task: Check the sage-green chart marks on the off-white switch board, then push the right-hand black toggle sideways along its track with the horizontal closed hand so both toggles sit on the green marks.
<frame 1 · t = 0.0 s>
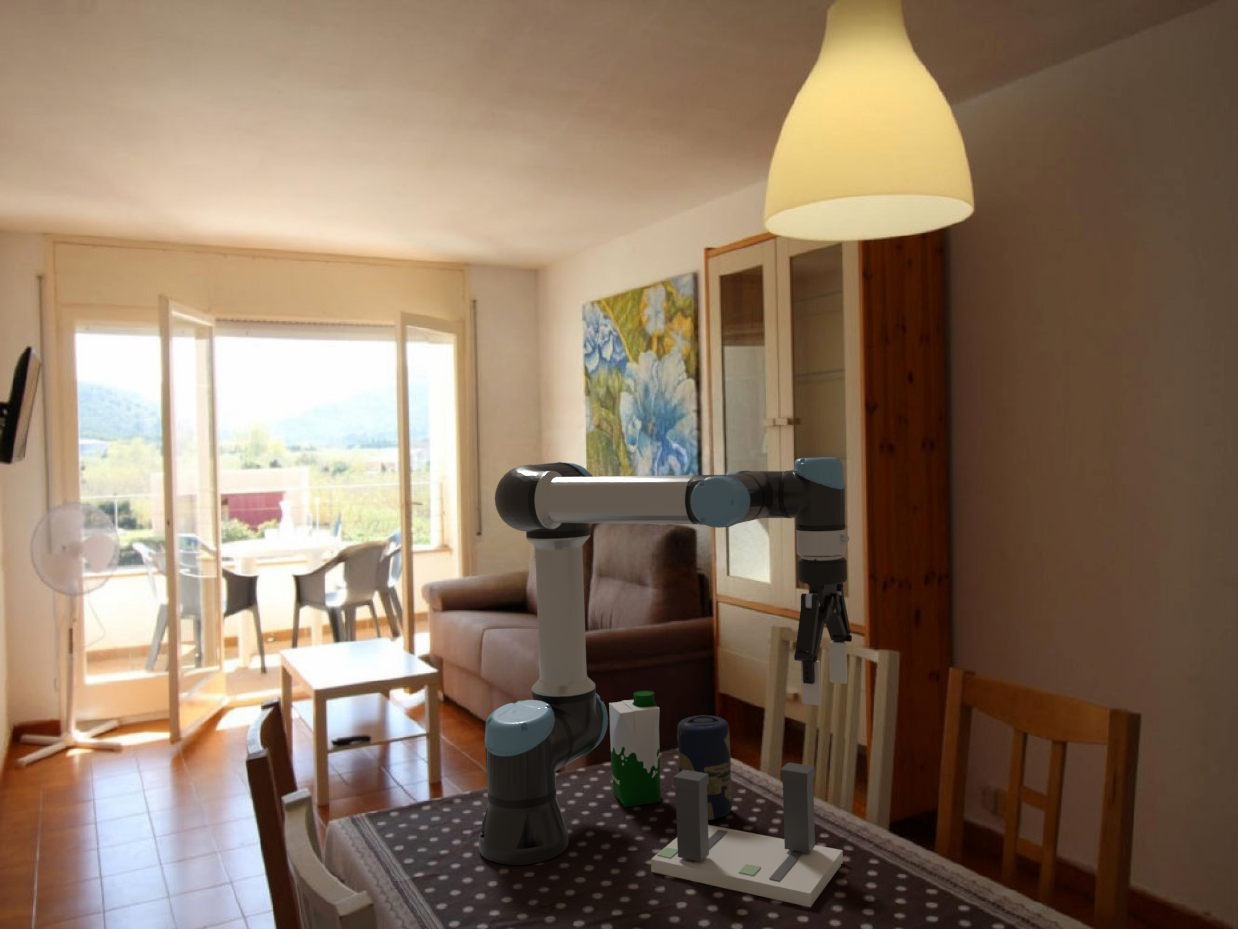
hand: (825, 693, 147), 28 cm above the table, tool pointing down, fingers open, 13 cm apart
switch board: (747, 867, 150), on the table
switch a: (692, 815, 149), point 9 cm above the table, slide at 10.0 cm
milk carton: (636, 799, 180), on the table
switch b: (798, 807, 151), point 9 cm above the table, slide at 0.0 cm
canister: (706, 814, 172), on the table
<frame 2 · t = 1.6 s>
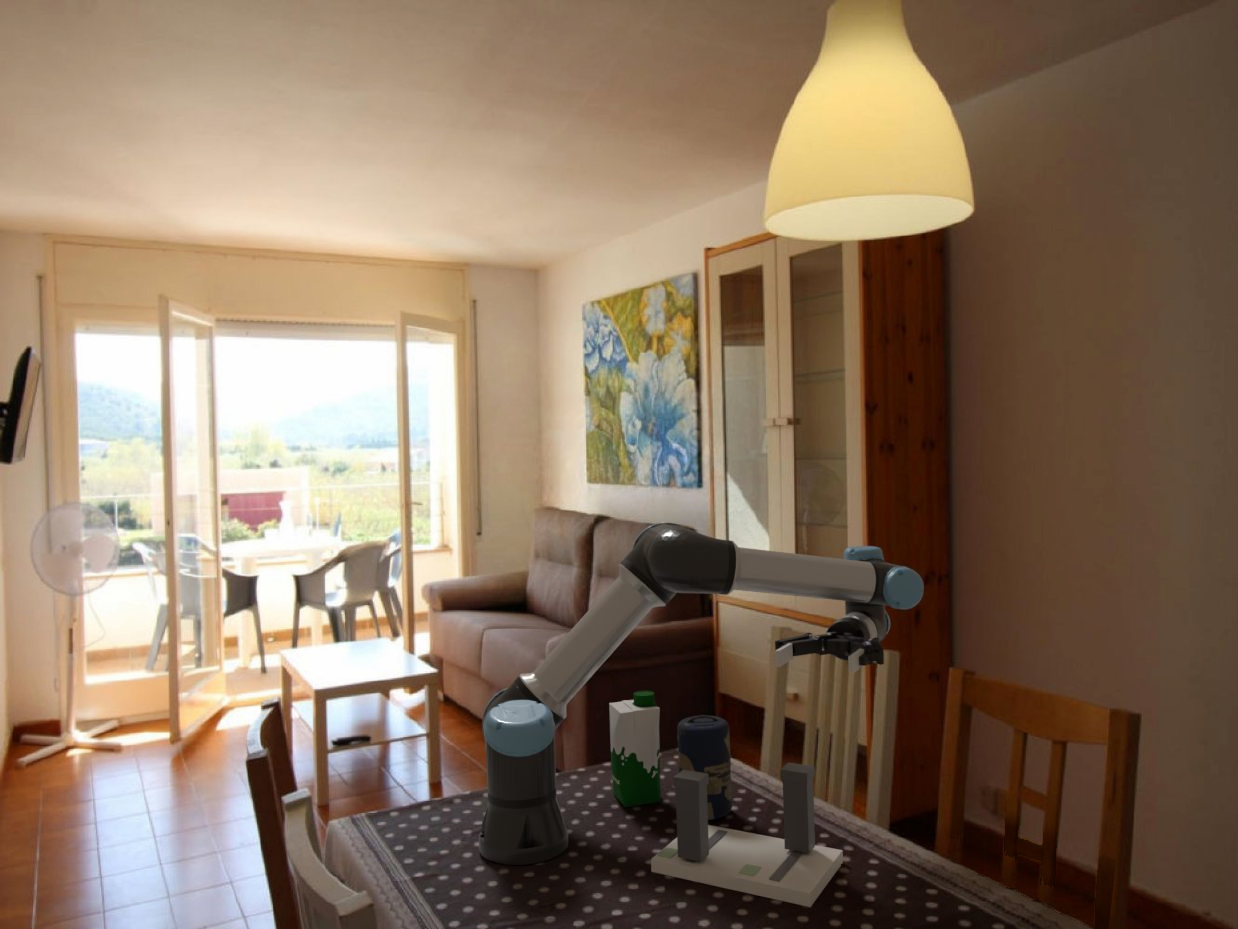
hand: (813, 662, 158), 30 cm above the table, tool horizontal, fingers open, 12 cm apart
nothing on the table moved.
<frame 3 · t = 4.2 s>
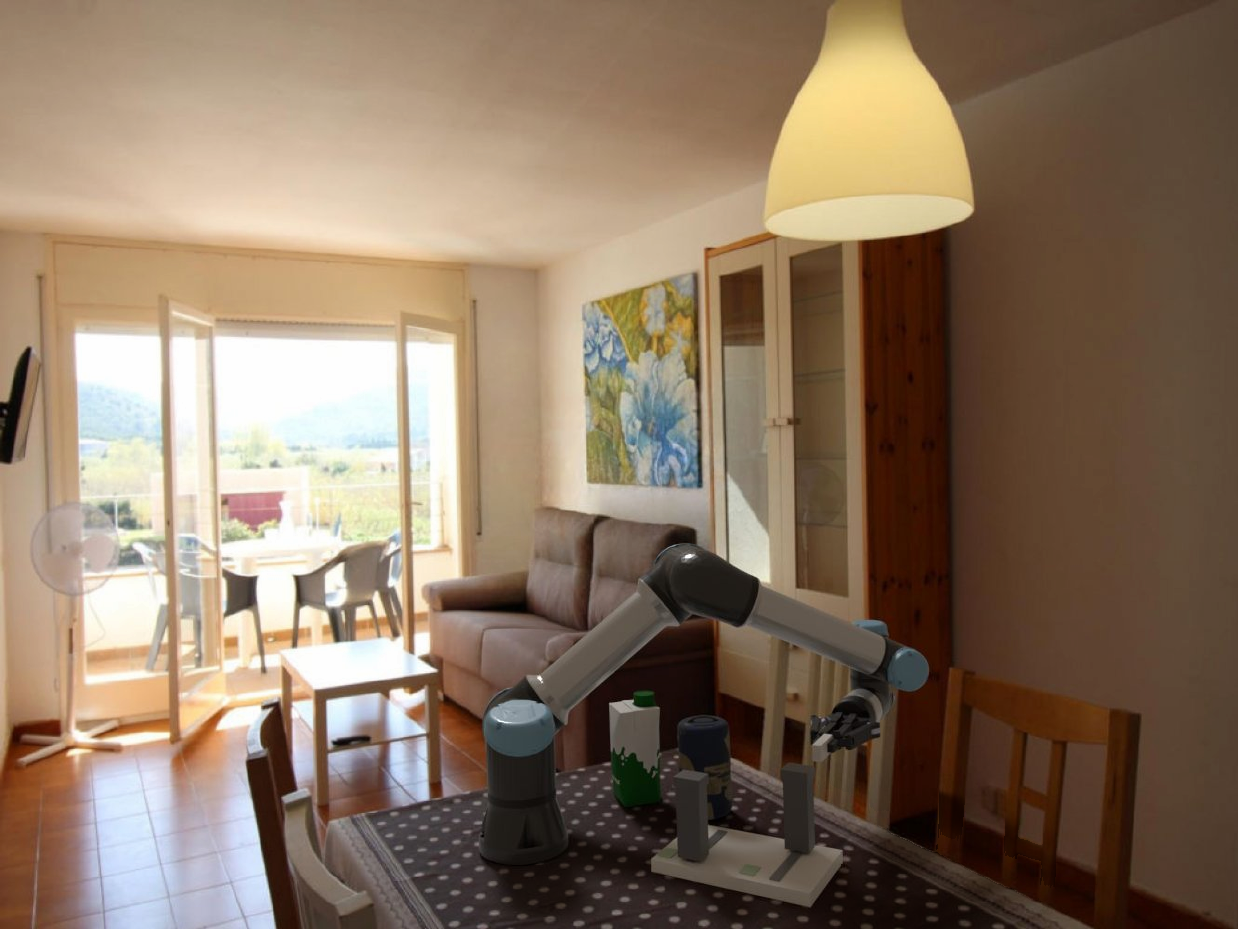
hand: (816, 753, 156), 15 cm above the table, tool horizontal, fingers closed
nothing on the table moved.
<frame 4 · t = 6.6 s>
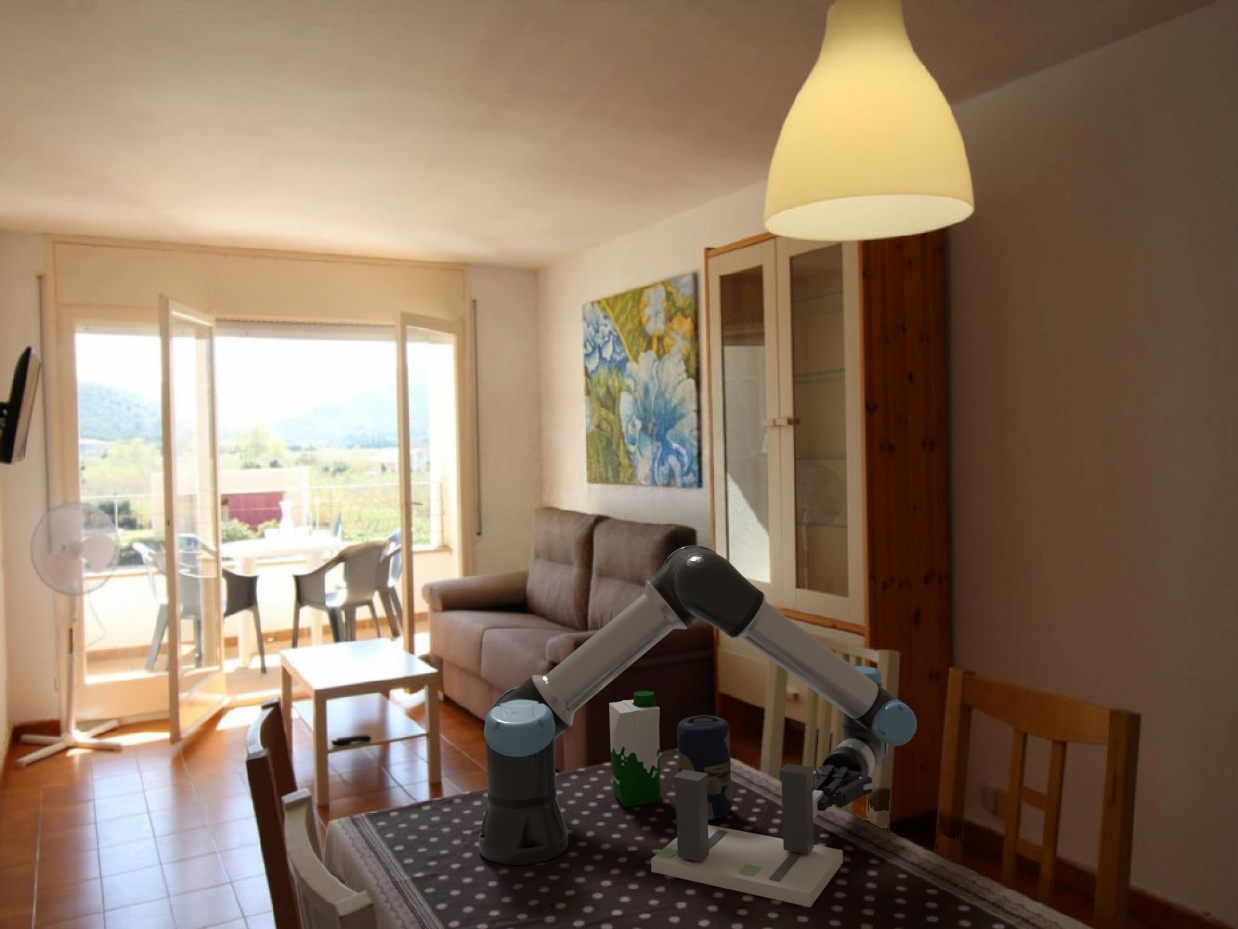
hand: (806, 812, 151), 8 cm above the table, tool horizontal, fingers closed
switch b: (797, 808, 150), point 9 cm above the table, slide at 0.5 cm, touching gripper
everything else where it was.
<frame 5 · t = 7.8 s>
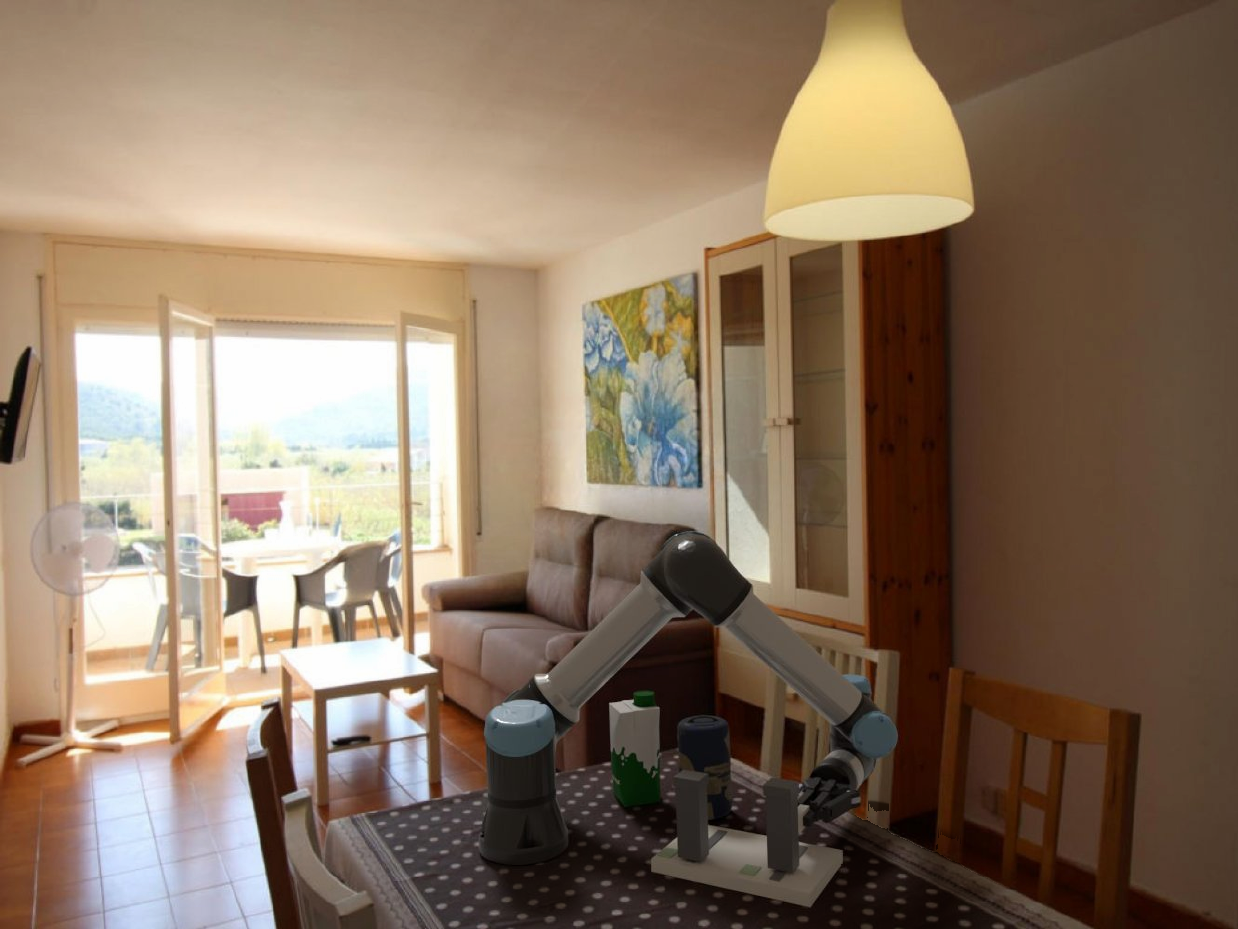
hand: (791, 828, 145), 8 cm above the table, tool horizontal, fingers closed
switch b: (782, 825, 144), point 9 cm above the table, slide at 7.5 cm, touching gripper
everything else where it was.
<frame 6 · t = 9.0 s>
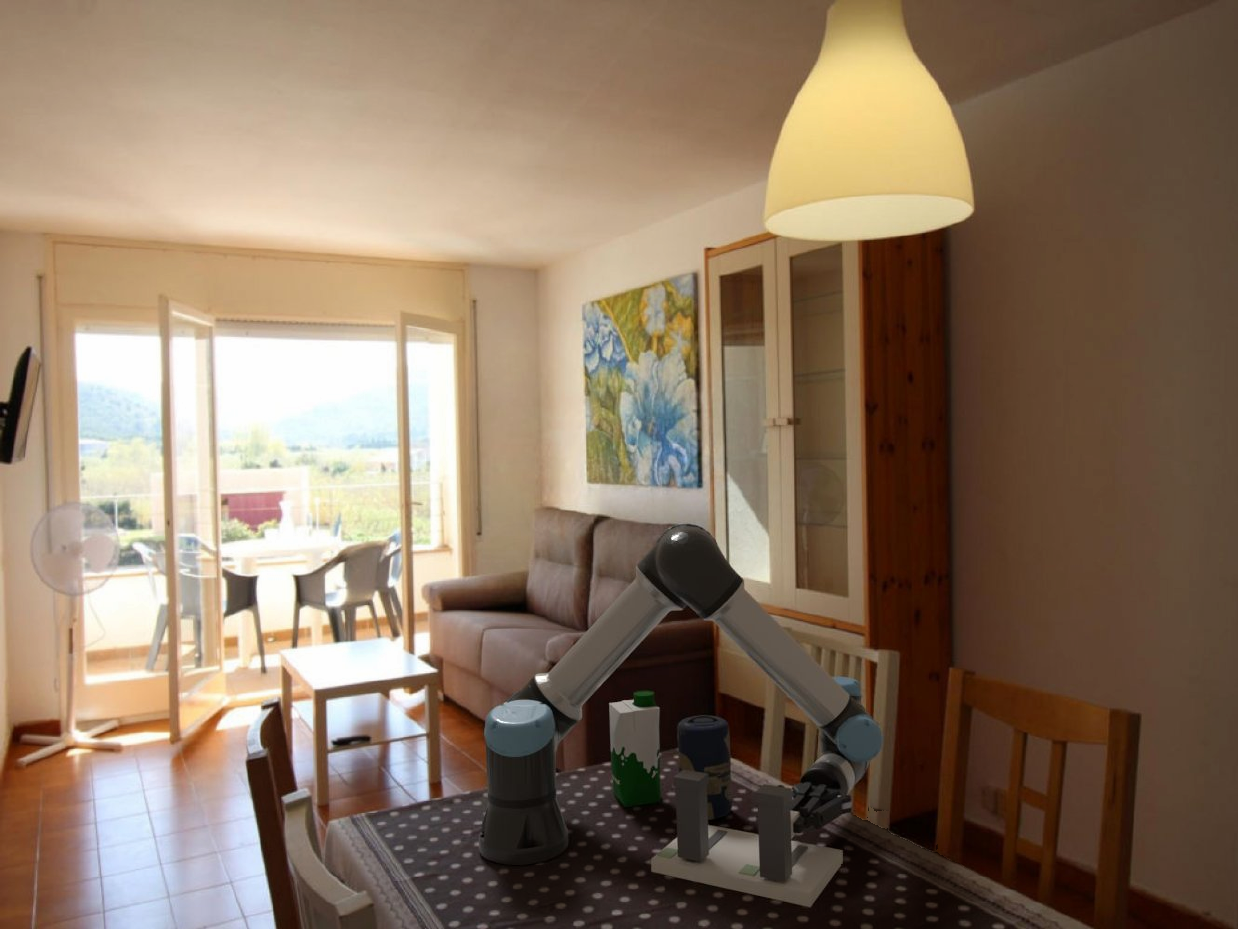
hand: (781, 835, 143), 8 cm above the table, tool horizontal, fingers closed
switch b: (774, 832, 141), point 9 cm above the table, slide at 10.7 cm, touching gripper
everything else where it was.
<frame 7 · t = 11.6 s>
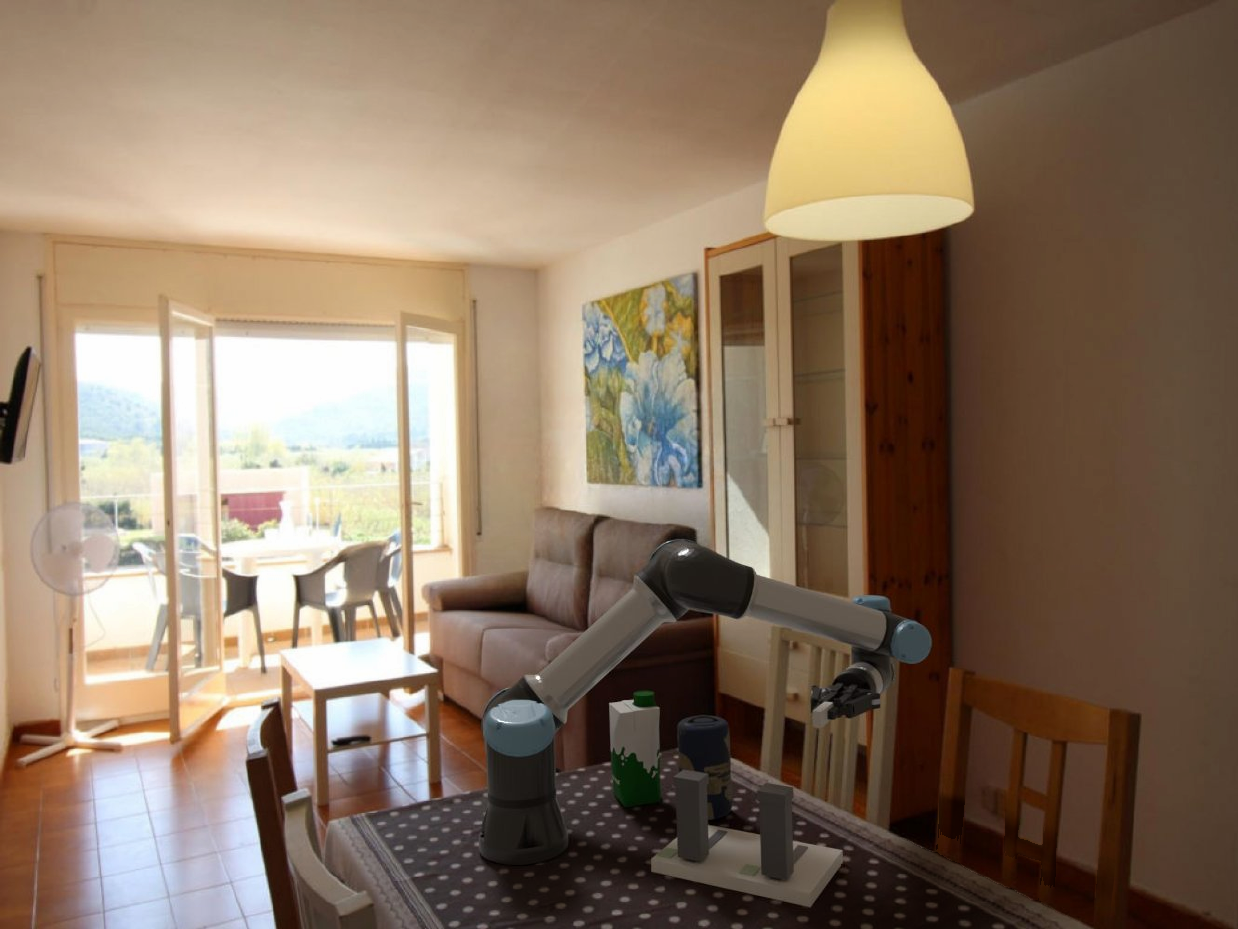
hand: (816, 719, 157), 21 cm above the table, tool horizontal, fingers closed
switch b: (776, 831, 142), point 9 cm above the table, slide at 10.1 cm
everything else where it was.
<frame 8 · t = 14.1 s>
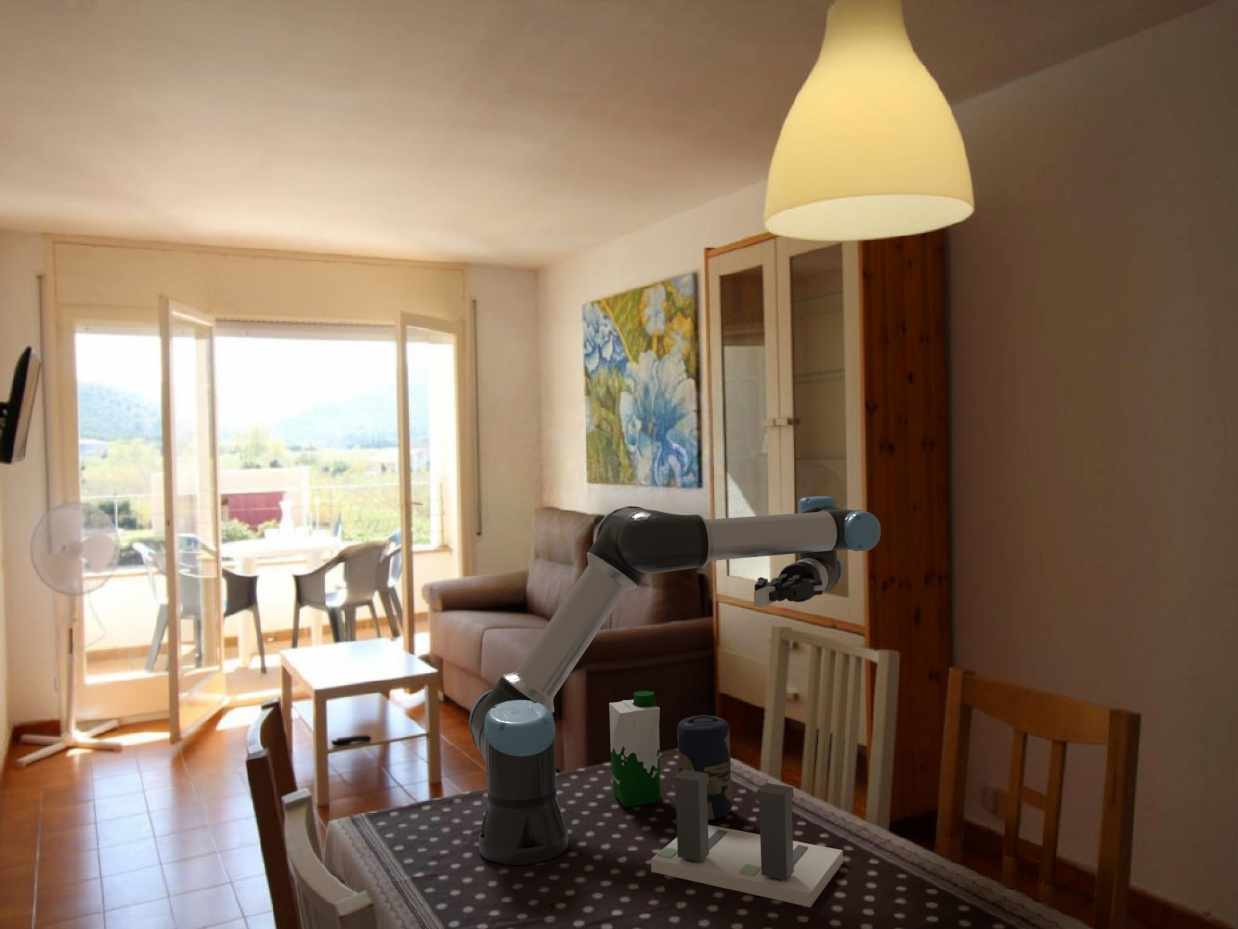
hand: (758, 599, 164), 40 cm above the table, tool horizontal, fingers closed
nothing on the table moved.
at the end: switch b slide at 10.1 cm; switch a slide at 10.0 cm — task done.
